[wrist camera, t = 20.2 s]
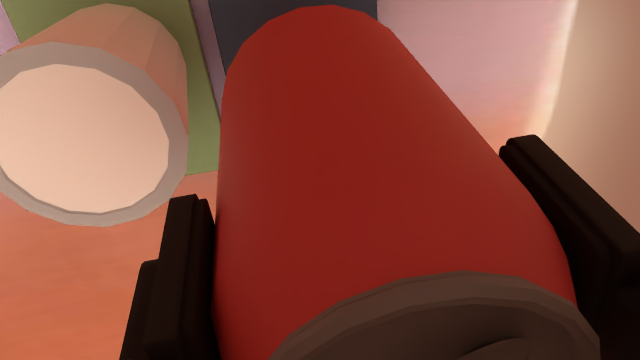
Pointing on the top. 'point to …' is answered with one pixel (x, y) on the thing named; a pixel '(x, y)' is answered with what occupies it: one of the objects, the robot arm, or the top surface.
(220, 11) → the slate mat
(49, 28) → the cup
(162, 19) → the sage mat
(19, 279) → the top surface
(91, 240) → the top surface
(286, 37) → the beer can
